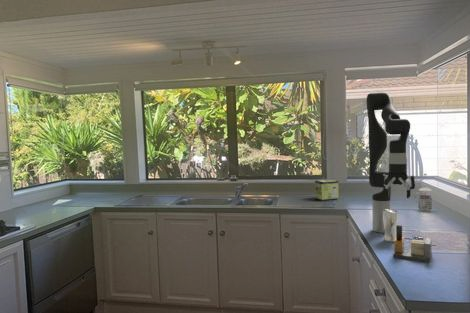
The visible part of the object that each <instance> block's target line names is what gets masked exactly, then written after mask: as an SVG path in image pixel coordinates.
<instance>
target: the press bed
mask: <svg viewBox="0 0 470 313" xmlns="http://www.w3.org/2000/svg"><path fill="white" fill-rule="evenodd" d="M424 241H425V250H424V255H416V254H411V247H406V246H404V249H403V252H402V253H399V252H393V255H392V257H393V258H395V259H403V260H409V261H417V262H423V263H431V257H432V237H428V236H427V237H426V238H425V240H424Z"/></svg>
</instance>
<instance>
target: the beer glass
mask: <svg viewBox="0 0 470 313" xmlns="http://www.w3.org/2000/svg"><path fill="white" fill-rule="evenodd" d="M398 214H399V212H398V210H397V209H391V208H390V209H386V210H383V224H384V230H385V233H384V237H383V240H384V241H385V242H391V243H394V241H395V239H396V225H399V224H398V223H399V215H398Z"/></svg>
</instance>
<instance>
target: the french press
mask: <svg viewBox="0 0 470 313" xmlns="http://www.w3.org/2000/svg"><path fill="white" fill-rule="evenodd" d="M427 175H428V174H427V173H423V176H427ZM432 191H433V189H431V188H429V187H422V188H419V189H418V191H416V194H414V197H413V198H414V201H415V202H416V203H418V208H417V211H418V212H424V213H425V212H427V213H428V212H429V213H430V212H434V210H433V209H432V208H433V204H432V203H433V201H432V200H433V198H432V195H430V194H429V195H428V194H421V193H420V192H424V193H427V192H432ZM417 194H418V195H419V197H418V201H417V200H416V196H417Z"/></svg>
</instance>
